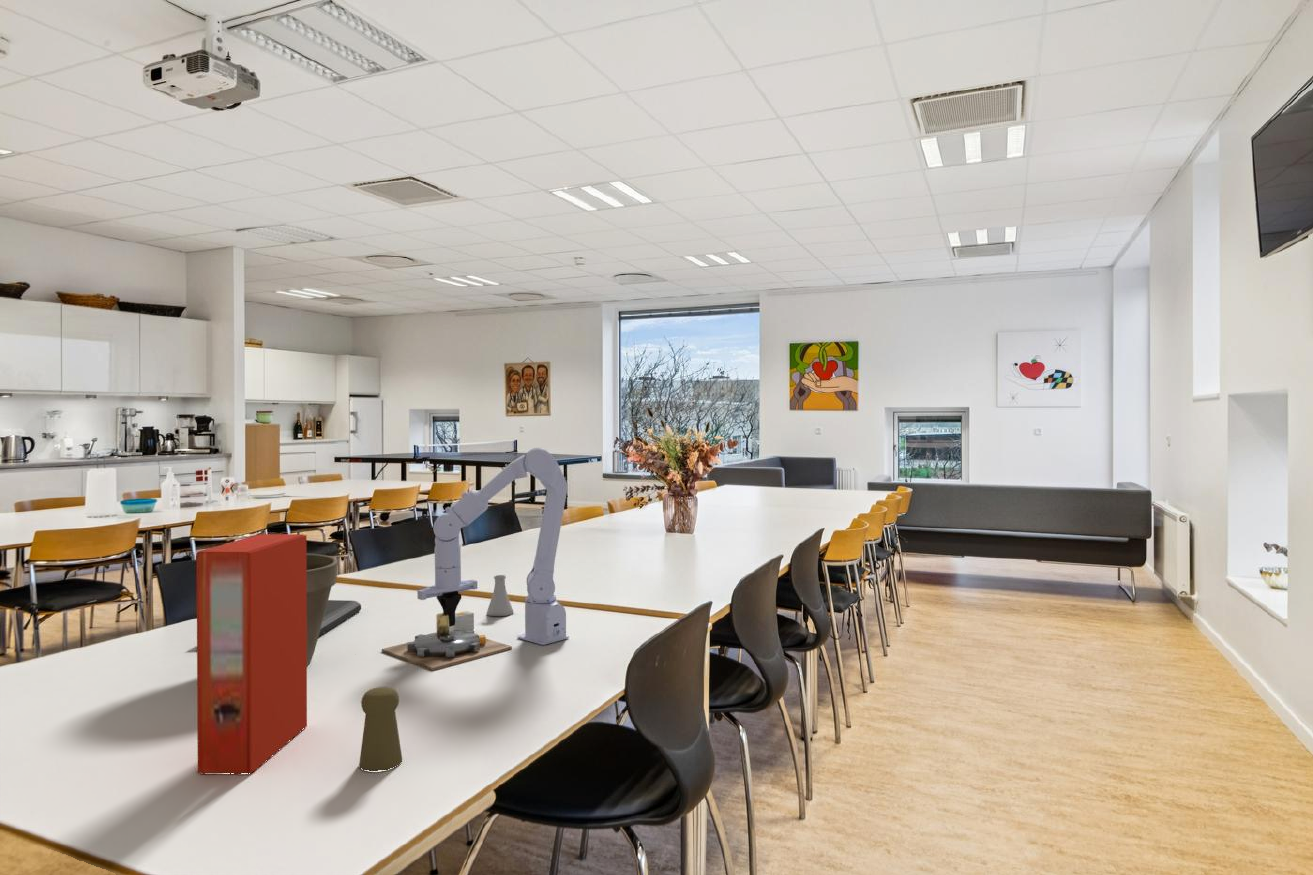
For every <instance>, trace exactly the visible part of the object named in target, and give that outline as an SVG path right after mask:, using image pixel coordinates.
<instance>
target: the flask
mask: <svg viewBox="0 0 1313 875" xmlns="http://www.w3.org/2000/svg"><path fill="white" fill-rule="evenodd" d="M506 577H507V575H506V574H498V575H497V574H496V575H494V576H493V579H494V589H493V592H492V595H491V599H490V602H489V604H488V607H487V610H486V616H491V617H506V616H508V617H509V616H511V615H512V614H514V609H513V607H512V603H511V600H510V598H509V595H508V592H507V590H506V581H505V580H506Z"/></svg>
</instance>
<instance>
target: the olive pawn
mask: <svg viewBox="0 0 1313 875" xmlns="http://www.w3.org/2000/svg"><path fill="white" fill-rule="evenodd" d="M360 702H361V703H360V704H361V708H362V711H363V713H364V714H365V717H364V725H363V732H362V740H361V749H360V756H359V765H358V767H359V766H360V768H362V769H363V770H369V771H378V770H388V769H390V768H393V767H395V766H397V765H399V764H400V763H401V762H402V763H403V761H402V760H403V756H402V749H401V742H400V735H399V728H398V721H397V715H396V710H397V708H398V706H399V702H400V696H399V693H398V692H397V690H396V688H393V687H389V686H379V687H374V688H371V689H368V690H367V691H366V692H365V693H364V694H363V695H362V698H361V700H360ZM402 763H401V764H402ZM401 764H400V765H401ZM400 765H399V766H400ZM360 768H359V769H360Z"/></svg>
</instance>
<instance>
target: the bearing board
mask: <svg viewBox="0 0 1313 875" xmlns="http://www.w3.org/2000/svg"><path fill="white" fill-rule="evenodd" d="M412 642H414V640H413V641H412ZM508 649H510V650H512V649H513V646H512V645H509V644H506V643H502V642H499V641H496V640H492V639H488V638H486V644H480V650H478V651H476V652H471V651H469V652H465V653H461V654H455V657H446V656H430V655H428V656H426V657H420V656H417V652H415V651H408V650H407V642H406V643H402V644H401V643H400V644H398V645H393V646H388V647H384V648H381V652H382V651H383V652H382V653H384V652H385V653H384V654H386V653H388V654H387V655H389V654H390V655H389V656H392V655H393V656H392V657H394V656H395V658H397V657H398V659H400V660H402V659H403V661H405V662H408V663H411V664H413V665H415V666H418V665H420V666H419V667H421V666H423V667H422V668H424V667H425V668H424V669H426V668H428V669H427V670H429V669H431V670H430V671H432V670H434V671H436V670H435V669H437V670H440V669H439V668H441V669H444V668H443V667H445V668H447V667H446V666H448V667H450V666H449V665H452V666H455V665H459V664H461V663H465V662H469V661H474V660H477V659H481V658H484V656H485V657H488V656H491V654H492V655H495V654H494V653H496V654H498V653H497V652H499V653H502V652H501V651H503V652H505V651H504V650H507V651H509V650H508ZM487 655H488V656H487Z"/></svg>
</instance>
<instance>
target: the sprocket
mask: <svg viewBox="0 0 1313 875" xmlns="http://www.w3.org/2000/svg"><path fill="white" fill-rule="evenodd" d="M435 617H436V632H432V633H428V634H417V635H415V636H414V640H413V641H414V642H413V641H407V642H406V643H407V650H408V651H415V652H417V656H420V657H426V656H428V655H430V656H446V657H455V654H461V653H465V652H469V651H471V652H476V651H478V650H480V644H486V639H487V636H486V635H485V634H480V635H479V634H477V633H475V630H467V631H449V614H448V613H443V612H440V613H437V614H436V616H435Z"/></svg>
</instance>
